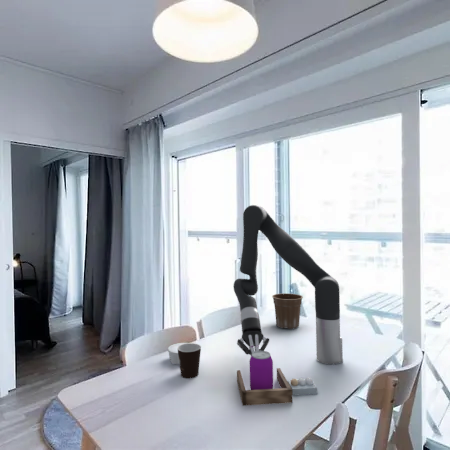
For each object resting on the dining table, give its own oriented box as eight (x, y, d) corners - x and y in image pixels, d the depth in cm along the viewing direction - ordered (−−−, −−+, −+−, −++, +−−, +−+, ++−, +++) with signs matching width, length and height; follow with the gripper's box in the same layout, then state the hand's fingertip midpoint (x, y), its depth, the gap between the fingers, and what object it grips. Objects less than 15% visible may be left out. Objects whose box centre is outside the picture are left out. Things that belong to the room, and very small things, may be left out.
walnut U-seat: (280, 379, 115) (279, 368, 115) (292, 402, 100) (292, 389, 100) (236, 381, 114) (236, 370, 114) (242, 405, 98) (242, 392, 99)
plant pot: (286, 319, 188) (285, 291, 188) (309, 326, 175) (308, 296, 175) (266, 325, 177) (266, 295, 178) (289, 332, 165) (288, 300, 165)
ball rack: (310, 384, 111) (310, 373, 111) (316, 393, 105) (316, 382, 105) (287, 386, 110) (287, 374, 110) (292, 395, 104) (292, 383, 104)
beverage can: (268, 383, 112) (267, 348, 112) (276, 394, 105) (276, 357, 105) (247, 386, 110) (246, 351, 110) (254, 397, 103) (253, 360, 103)
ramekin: (194, 366, 127) (194, 352, 127) (165, 366, 127) (165, 353, 127) (196, 354, 139) (196, 342, 139) (170, 355, 139) (170, 342, 139)
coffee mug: (197, 380, 115) (197, 352, 115) (174, 379, 117) (174, 351, 117) (206, 366, 126) (205, 341, 126) (184, 365, 128) (184, 339, 128)
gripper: (234, 317, 127) (239, 361, 115) (267, 315, 129) (275, 359, 116) (233, 326, 133) (237, 369, 121) (265, 325, 134) (272, 367, 122)
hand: (256, 364), depth 118 cm, fingers closed
